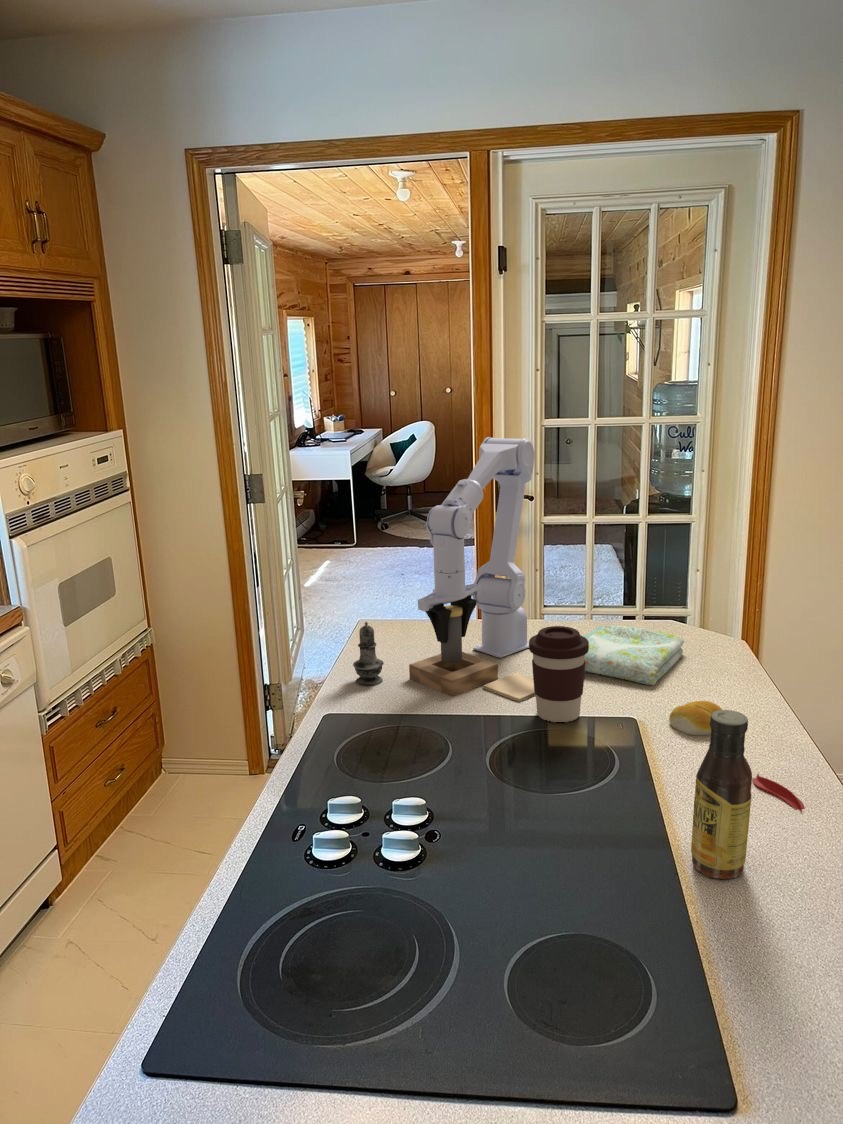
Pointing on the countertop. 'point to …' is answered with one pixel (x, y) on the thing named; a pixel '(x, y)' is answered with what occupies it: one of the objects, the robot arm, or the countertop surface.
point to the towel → (632, 653)
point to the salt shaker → (368, 659)
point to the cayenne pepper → (778, 792)
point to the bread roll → (693, 717)
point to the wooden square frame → (453, 673)
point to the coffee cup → (558, 672)
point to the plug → (453, 637)
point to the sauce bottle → (722, 799)
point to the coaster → (513, 687)
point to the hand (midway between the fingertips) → (451, 638)
